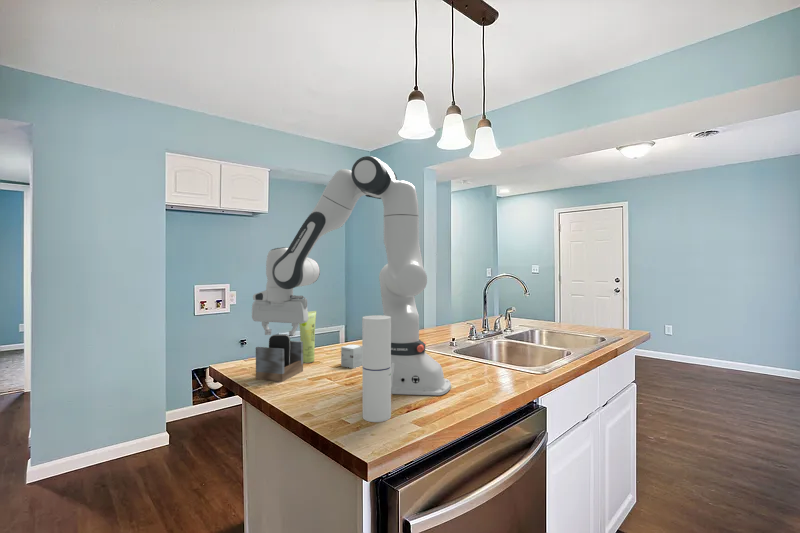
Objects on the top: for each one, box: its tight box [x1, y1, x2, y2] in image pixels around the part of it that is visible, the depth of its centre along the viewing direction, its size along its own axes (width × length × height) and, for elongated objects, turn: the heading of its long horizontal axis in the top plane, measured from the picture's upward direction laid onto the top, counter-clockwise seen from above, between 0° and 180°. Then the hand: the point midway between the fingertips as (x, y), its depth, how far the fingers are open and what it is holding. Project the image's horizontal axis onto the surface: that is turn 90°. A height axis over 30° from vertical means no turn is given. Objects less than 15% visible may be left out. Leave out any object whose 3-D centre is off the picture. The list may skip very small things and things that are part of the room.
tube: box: [298, 310, 317, 364], centre depth 154 cm, size 6×5×20 cm
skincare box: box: [340, 344, 362, 369], centre depth 148 cm, size 6×6×7 cm
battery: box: [268, 333, 291, 367], centre depth 136 cm, size 7×4×11 cm, turn 98°
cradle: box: [255, 340, 304, 383], centre depth 136 cm, size 10×13×10 cm
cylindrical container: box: [361, 314, 392, 423], centre depth 100 cm, size 7×7×25 cm
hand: (280, 335), depth 136 cm, fingers open, 8 cm apart
